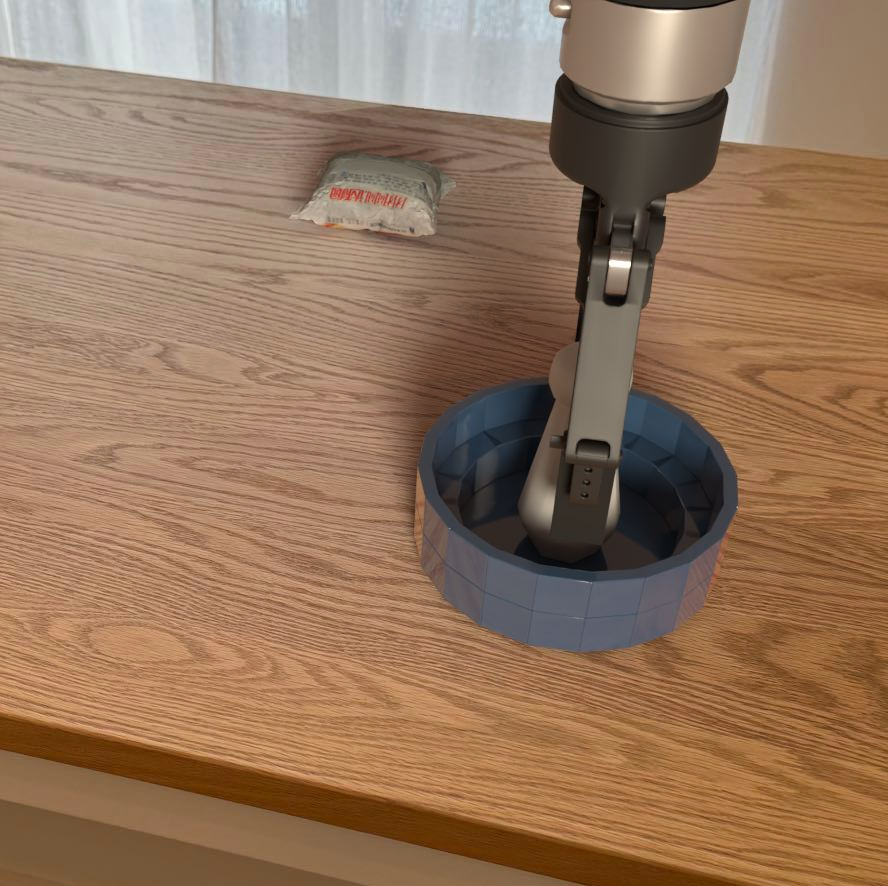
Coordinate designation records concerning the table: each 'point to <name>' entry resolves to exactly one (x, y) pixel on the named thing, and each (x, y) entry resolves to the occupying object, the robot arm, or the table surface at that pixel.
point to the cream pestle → (545, 468)
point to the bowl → (598, 575)
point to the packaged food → (377, 194)
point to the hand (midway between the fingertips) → (584, 454)
